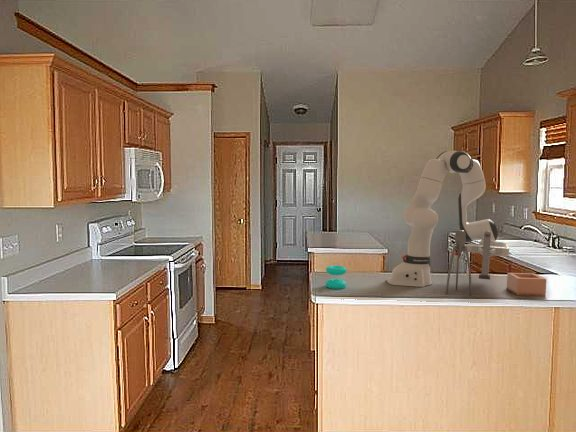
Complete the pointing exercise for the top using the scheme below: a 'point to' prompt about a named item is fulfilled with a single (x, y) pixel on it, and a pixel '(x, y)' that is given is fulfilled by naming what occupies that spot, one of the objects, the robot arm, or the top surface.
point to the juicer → (460, 242)
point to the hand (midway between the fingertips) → (486, 251)
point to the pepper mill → (486, 256)
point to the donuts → (336, 282)
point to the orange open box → (526, 284)
